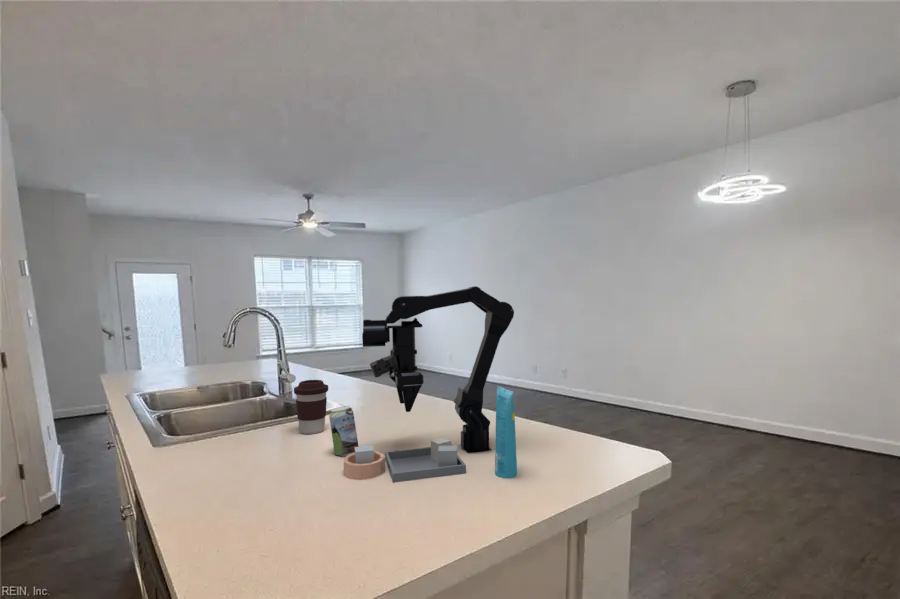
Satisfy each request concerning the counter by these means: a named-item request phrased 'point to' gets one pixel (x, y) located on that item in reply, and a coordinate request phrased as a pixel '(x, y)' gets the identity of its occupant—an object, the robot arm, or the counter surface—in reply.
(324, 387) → the coffee cup
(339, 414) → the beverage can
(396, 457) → the tray
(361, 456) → the stone
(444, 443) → the stone
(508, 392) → the tube
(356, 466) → the bowl
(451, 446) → the stone
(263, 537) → the counter surface
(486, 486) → the counter surface
